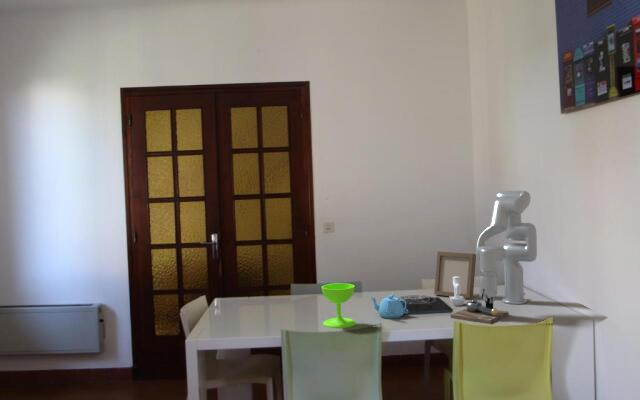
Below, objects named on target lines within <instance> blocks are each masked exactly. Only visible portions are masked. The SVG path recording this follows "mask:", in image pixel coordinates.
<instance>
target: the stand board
mask: <svg viewBox="0 0 640 400" xmlns="http://www.w3.org/2000/svg"><path fill="white" fill-rule="evenodd" d="M497 310H498V314H497V315H493V314H490V313H487V312H483V311H481V312H468V311H467V307H466V308H464V309H462V310H458V311H457V312H454V313H451V314H450V318H451V319H455V320H462V321H467V322H468V321H469V322H476V323H483V324H489V325H490V324H492V323H494V322H496V321H499V320H501V319H503V318H504V317H507V316H509V315H510V314H509V311H507V310H501V309H500V310H499V309H497Z"/></svg>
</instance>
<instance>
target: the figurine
mask: <svg viewBox="0 0 640 400" xmlns="http://www.w3.org/2000/svg"><path fill="white" fill-rule="evenodd" d="M459 282H460V280H459V276H458V277H456V276H454V277H453V286H454V296H448V297H449V300H450V301H451V304H452V305H453V306H455V307H456V306H457V307H458V306H459V307H460V306H463V305H464V303H465V300H466V298H464V297H463V296H460V294H461V287H460V285H459V284H460V283H459Z"/></svg>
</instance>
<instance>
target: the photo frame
mask: <svg viewBox="0 0 640 400" xmlns="http://www.w3.org/2000/svg"><path fill="white" fill-rule="evenodd" d="M476 259H477V256H476V253H468V252H467V253H466V252H465V253H464V252H450V251H449V252H448V251H437V255H436V265H435V266H436V267H435V268H436V269H435V277H434V278H435V279H434V281H435V282H434V291H433V292H434V293H433V295H435V296H436V295H438V296H446V297H453V296H454V286H453V277H454V276H456V277H458V276H459V280H460V282H459V283H460V284H459V285H460V287H461V294H460V296H463V297H464V298H465V299H471V300H474V287H475V276H476V264H477V263H476Z"/></svg>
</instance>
